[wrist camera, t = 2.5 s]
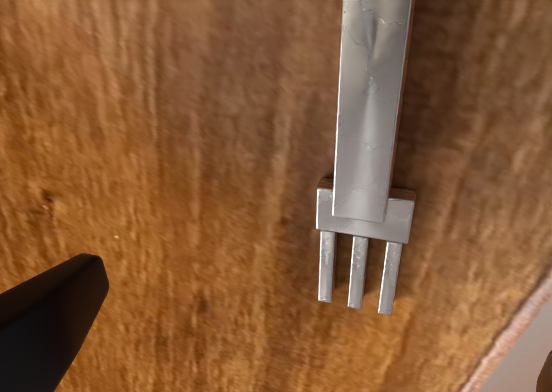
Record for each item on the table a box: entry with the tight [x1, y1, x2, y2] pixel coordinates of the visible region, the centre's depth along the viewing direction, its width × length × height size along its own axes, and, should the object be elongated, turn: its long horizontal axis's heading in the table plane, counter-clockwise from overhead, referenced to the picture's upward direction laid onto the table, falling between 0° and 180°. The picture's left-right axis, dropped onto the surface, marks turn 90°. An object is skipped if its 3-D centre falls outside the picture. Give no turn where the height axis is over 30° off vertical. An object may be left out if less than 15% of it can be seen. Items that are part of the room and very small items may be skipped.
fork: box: [316, 0, 416, 315], centre depth 16 cm, size 17×4×2 cm, turn 1°
